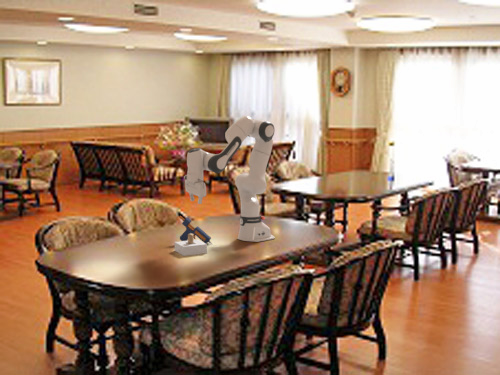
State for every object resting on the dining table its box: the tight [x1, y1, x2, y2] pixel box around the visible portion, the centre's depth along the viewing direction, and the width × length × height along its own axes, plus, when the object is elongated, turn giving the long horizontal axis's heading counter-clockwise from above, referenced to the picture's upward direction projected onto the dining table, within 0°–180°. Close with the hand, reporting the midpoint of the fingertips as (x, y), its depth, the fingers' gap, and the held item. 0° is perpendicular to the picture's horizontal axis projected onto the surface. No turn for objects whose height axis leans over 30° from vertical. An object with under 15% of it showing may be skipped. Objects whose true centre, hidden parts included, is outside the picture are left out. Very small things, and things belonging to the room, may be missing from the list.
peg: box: [187, 234, 194, 244], centre depth 365 cm, size 3×3×10 cm
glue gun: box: [179, 215, 213, 245], centre depth 387 cm, size 5×25×12 cm
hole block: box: [174, 239, 208, 257], centre depth 365 cm, size 14×12×5 cm
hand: (196, 202), depth 369 cm, fingers open, 8 cm apart
